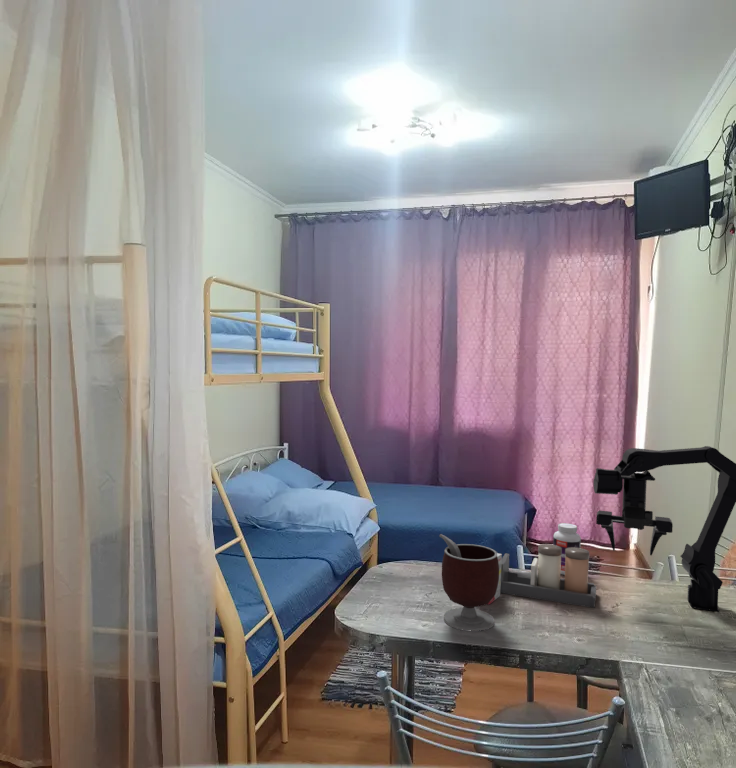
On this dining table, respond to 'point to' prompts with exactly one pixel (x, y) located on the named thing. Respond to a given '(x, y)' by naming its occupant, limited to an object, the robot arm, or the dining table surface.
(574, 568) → the terracotta jar
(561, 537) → the pill bottle
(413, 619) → the dining table surface
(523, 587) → the grey jar rack
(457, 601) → the mate gourd
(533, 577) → the pusher
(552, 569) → the cream jar
